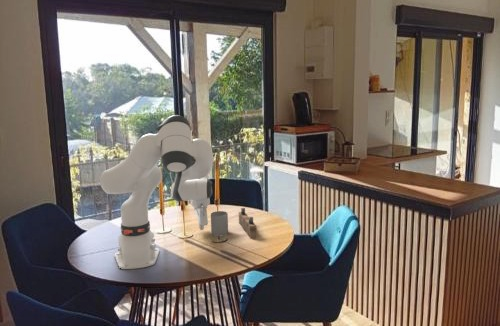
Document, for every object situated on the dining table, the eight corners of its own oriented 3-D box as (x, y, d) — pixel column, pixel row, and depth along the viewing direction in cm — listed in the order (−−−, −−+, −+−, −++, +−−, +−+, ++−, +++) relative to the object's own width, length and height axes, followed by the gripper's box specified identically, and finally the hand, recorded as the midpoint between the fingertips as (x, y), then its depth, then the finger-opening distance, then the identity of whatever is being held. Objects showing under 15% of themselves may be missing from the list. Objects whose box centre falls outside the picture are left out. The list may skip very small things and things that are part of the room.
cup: (231, 232, 199) (231, 212, 197) (221, 237, 192) (220, 217, 190) (218, 229, 203) (217, 210, 201) (207, 234, 197) (207, 214, 195)
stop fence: (256, 237, 190) (256, 219, 188) (250, 238, 189) (250, 220, 188) (244, 222, 213) (244, 206, 211) (238, 223, 212) (238, 206, 210)
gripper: (210, 206, 183) (211, 235, 185) (203, 195, 203) (205, 222, 205) (196, 207, 182) (197, 236, 184) (191, 196, 201) (192, 223, 203)
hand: (201, 228), depth 195 cm, fingers closed
